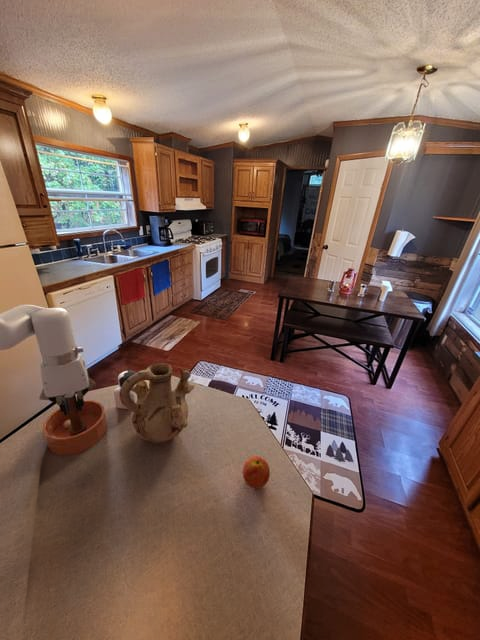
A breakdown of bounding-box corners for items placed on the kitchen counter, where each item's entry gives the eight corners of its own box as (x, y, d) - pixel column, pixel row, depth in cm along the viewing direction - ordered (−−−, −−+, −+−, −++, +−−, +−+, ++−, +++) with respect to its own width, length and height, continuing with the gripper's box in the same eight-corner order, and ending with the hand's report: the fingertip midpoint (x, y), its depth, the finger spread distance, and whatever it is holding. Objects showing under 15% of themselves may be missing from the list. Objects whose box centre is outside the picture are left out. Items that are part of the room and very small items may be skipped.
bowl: (45, 464, 67) (40, 448, 64) (49, 424, 79) (45, 409, 76) (109, 442, 74) (106, 426, 72) (104, 408, 86) (101, 394, 84)
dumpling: (68, 421, 76) (66, 417, 77) (62, 428, 75) (60, 424, 77) (75, 423, 78) (73, 419, 79) (70, 430, 77) (67, 426, 78)
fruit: (250, 464, 71) (252, 443, 68) (272, 477, 68) (276, 456, 65) (236, 484, 66) (239, 463, 62) (260, 500, 62) (264, 478, 59)
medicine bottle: (145, 396, 93) (142, 369, 88) (135, 410, 86) (132, 381, 82) (126, 394, 93) (122, 367, 89) (115, 407, 87) (111, 379, 82)
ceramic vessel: (187, 460, 71) (187, 387, 61) (117, 460, 69) (105, 386, 59) (194, 412, 88) (194, 349, 78) (137, 412, 86) (130, 348, 76)
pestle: (70, 440, 73) (59, 402, 68) (69, 429, 77) (60, 392, 71) (87, 434, 76) (79, 397, 70) (86, 424, 79) (78, 388, 73)
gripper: (94, 342, 73) (103, 393, 80) (22, 355, 65) (39, 410, 72) (96, 355, 67) (106, 409, 74) (17, 370, 59) (36, 429, 66)
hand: (73, 409), depth 73 cm, fingers open, 3 cm apart
